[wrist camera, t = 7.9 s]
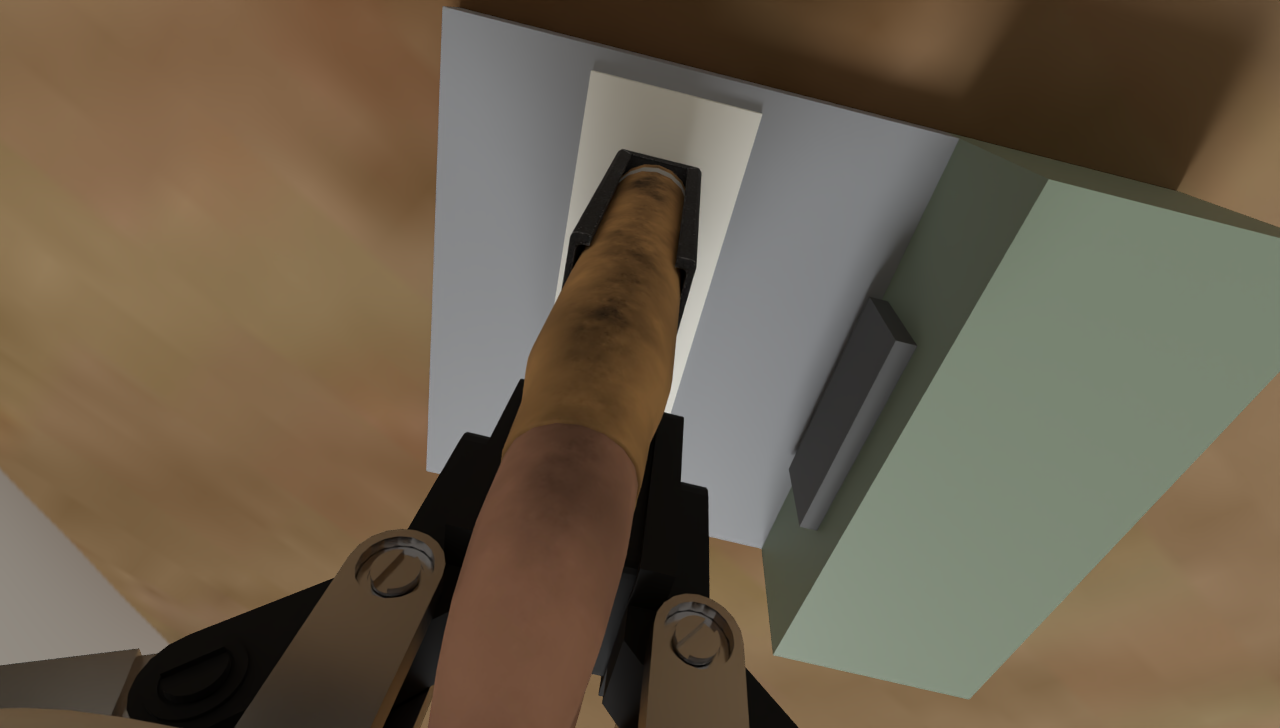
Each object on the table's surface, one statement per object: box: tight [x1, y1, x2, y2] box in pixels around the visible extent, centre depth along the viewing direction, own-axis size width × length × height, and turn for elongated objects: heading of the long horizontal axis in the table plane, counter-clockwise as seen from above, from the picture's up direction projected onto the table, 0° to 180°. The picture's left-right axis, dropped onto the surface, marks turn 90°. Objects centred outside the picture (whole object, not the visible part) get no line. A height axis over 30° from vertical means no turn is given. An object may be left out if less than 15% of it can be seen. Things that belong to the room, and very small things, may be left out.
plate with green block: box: [426, 6, 1280, 699], centre depth 15 cm, size 18×14×5 cm
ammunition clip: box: [428, 149, 702, 728], centre depth 10 cm, size 11×2×12 cm, turn 168°
